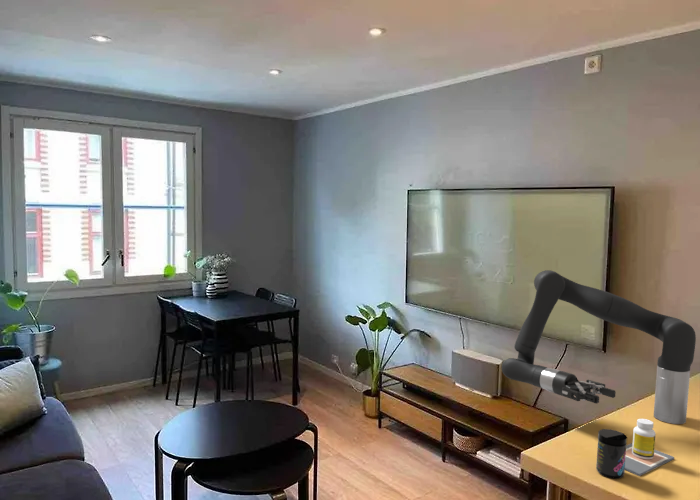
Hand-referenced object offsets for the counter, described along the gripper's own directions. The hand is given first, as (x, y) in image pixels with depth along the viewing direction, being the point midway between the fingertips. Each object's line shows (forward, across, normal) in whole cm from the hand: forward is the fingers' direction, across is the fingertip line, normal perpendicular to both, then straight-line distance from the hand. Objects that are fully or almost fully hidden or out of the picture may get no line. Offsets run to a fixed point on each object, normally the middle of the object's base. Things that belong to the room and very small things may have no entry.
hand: (606, 397), depth 157 cm
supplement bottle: (+12, -2, +13) cm, 18 cm away
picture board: (+11, -4, +13) cm, 18 cm away
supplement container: (+12, -18, +13) cm, 25 cm away
